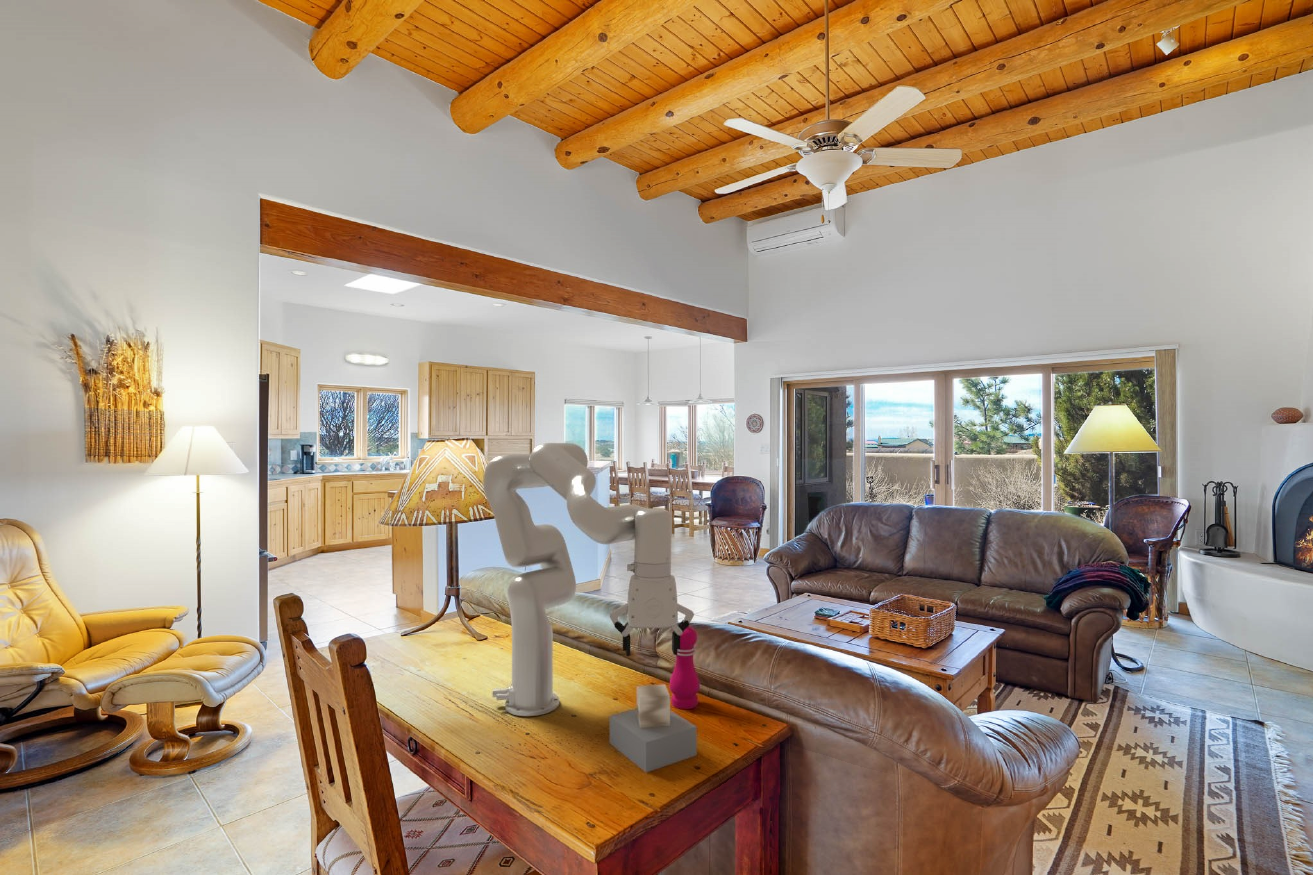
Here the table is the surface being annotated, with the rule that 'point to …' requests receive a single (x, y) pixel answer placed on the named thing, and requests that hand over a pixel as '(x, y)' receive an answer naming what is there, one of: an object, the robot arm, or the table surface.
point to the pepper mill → (685, 673)
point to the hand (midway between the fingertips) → (651, 653)
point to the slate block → (653, 740)
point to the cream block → (653, 706)
